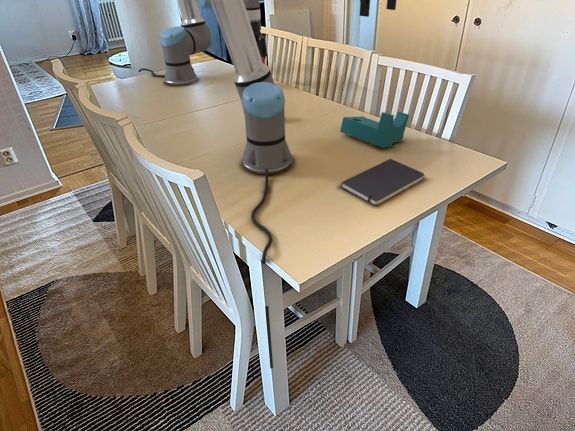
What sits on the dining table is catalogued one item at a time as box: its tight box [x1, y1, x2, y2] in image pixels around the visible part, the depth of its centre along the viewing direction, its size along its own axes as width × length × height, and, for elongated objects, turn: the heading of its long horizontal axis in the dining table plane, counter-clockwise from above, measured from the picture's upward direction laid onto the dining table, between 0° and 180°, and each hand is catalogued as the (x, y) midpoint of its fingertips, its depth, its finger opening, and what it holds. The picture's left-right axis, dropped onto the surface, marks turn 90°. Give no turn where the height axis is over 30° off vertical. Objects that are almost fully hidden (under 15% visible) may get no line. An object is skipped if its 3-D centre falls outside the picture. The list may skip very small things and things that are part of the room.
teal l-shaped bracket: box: [339, 111, 410, 149], centre depth 136 cm, size 18×11×10 cm, turn 43°
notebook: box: [340, 158, 425, 206], centre depth 114 cm, size 13×2×21 cm
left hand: (255, 75), depth 184 cm, fingers closed on block, 6 cm apart
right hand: (377, 12), depth 119 cm, fingers open, 13 cm apart
